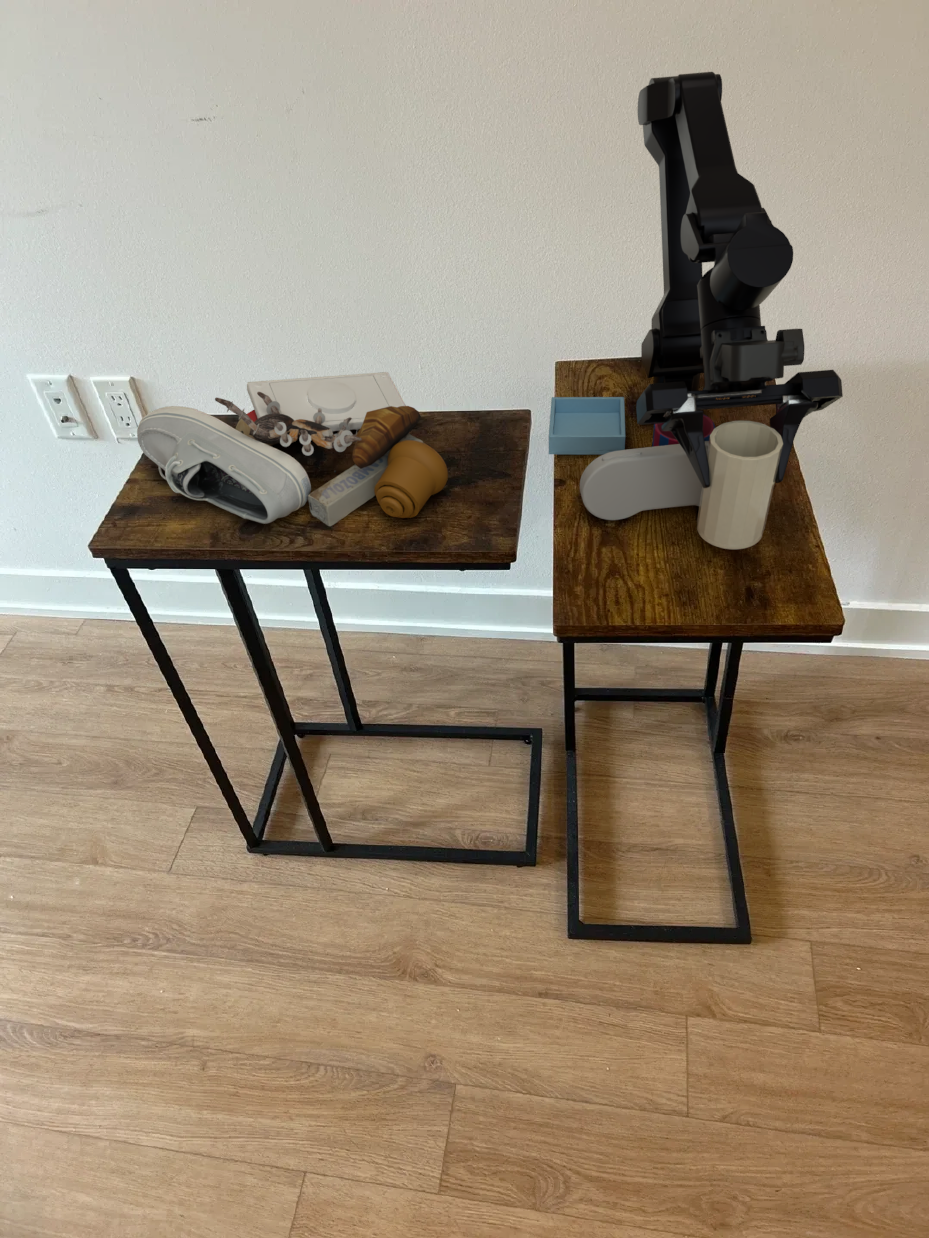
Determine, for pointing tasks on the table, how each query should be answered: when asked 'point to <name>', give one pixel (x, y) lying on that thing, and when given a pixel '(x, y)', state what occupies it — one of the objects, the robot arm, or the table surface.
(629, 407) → the table surface
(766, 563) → the table surface
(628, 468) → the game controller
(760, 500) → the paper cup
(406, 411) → the croissant
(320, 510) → the grey printed bar
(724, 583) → the table surface
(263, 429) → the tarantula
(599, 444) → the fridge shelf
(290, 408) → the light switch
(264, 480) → the boat shoe
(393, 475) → the ornamental finial
